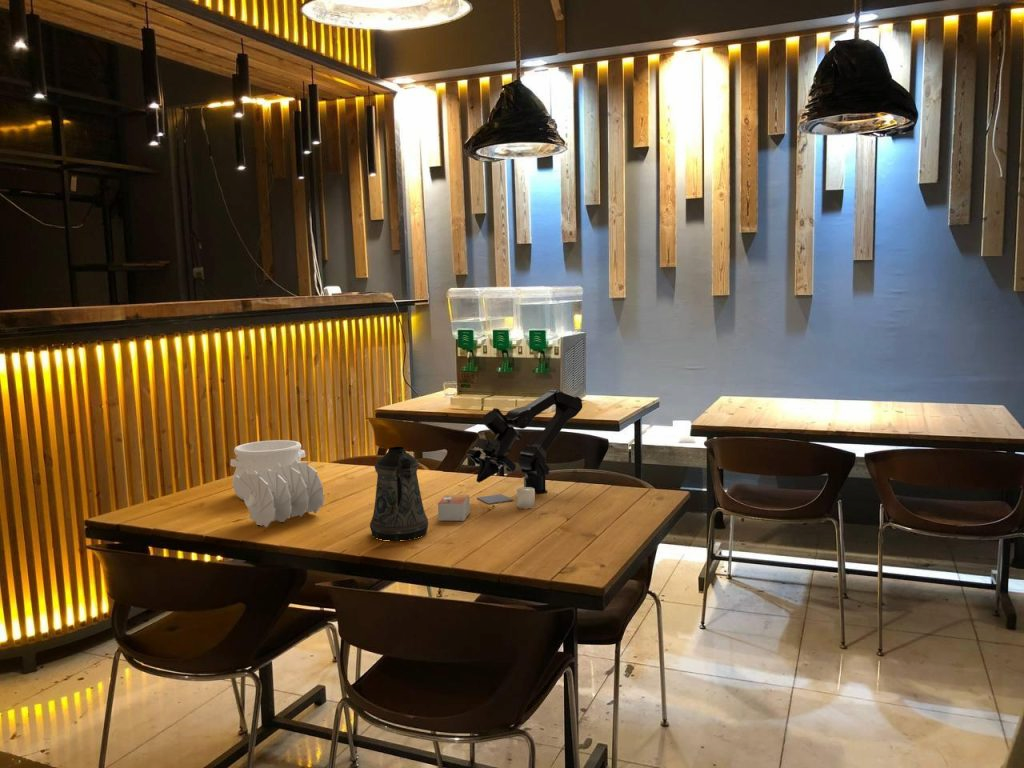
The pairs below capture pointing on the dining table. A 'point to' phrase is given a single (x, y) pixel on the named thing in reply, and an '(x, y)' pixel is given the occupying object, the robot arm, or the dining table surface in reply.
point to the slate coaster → (495, 499)
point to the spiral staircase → (280, 492)
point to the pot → (265, 456)
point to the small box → (453, 508)
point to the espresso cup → (526, 497)
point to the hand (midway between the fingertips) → (477, 481)
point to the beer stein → (398, 498)
